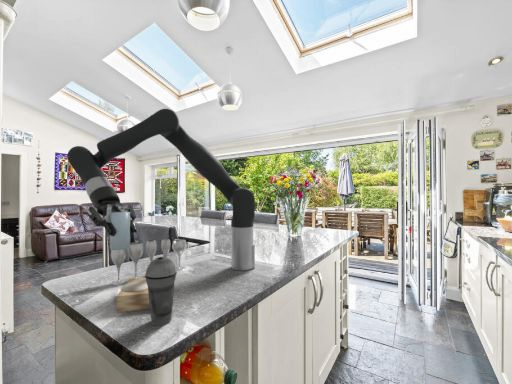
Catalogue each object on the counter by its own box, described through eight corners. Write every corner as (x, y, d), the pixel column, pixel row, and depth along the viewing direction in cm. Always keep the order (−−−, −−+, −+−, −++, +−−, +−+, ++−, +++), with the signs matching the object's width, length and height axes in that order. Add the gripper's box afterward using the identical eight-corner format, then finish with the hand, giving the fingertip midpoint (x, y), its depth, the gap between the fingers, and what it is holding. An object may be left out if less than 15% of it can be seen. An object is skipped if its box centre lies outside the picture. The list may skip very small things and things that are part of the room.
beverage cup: (151, 314, 65) (150, 237, 65) (180, 313, 66) (179, 236, 66) (140, 329, 58) (140, 242, 58) (172, 328, 58) (172, 242, 58)
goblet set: (113, 286, 85) (113, 247, 85) (109, 282, 89) (109, 244, 90) (189, 269, 104) (189, 237, 104) (182, 266, 108) (182, 235, 108)
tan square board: (168, 288, 83) (168, 274, 83) (164, 306, 70) (164, 290, 70) (129, 292, 80) (129, 277, 80) (116, 312, 67) (116, 295, 67)
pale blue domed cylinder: (131, 245, 81) (131, 211, 81) (127, 249, 75) (127, 212, 76) (113, 246, 79) (113, 211, 79) (107, 250, 74) (107, 213, 74)
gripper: (82, 184, 75) (104, 227, 69) (127, 185, 87) (150, 222, 81) (73, 202, 78) (94, 245, 72) (118, 200, 90) (139, 237, 84)
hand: (123, 232), depth 77 cm, fingers closed on pale blue domed cylinder, 5 cm apart
